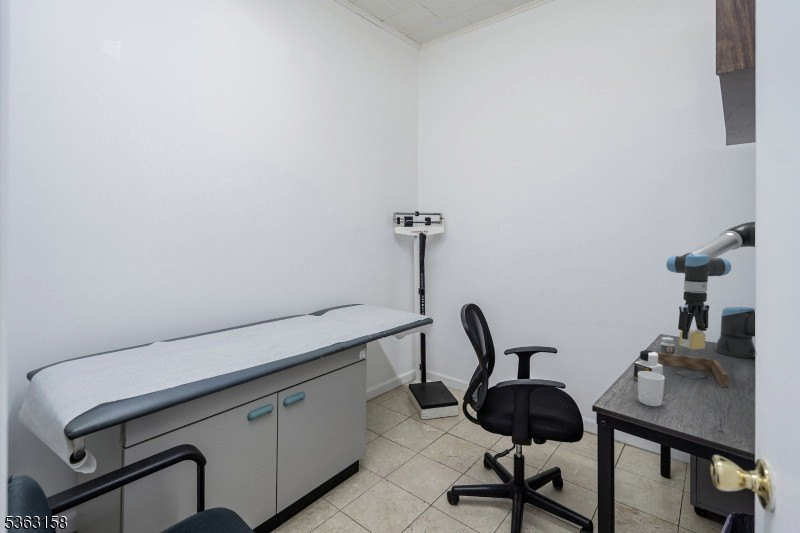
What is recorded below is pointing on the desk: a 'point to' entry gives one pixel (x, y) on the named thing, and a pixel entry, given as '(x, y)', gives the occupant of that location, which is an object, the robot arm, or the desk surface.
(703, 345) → the cube
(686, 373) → the mat
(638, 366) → the medicine bottle
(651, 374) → the white cup
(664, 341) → the pill bottle
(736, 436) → the desk surface
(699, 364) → the angled wooden barrier
